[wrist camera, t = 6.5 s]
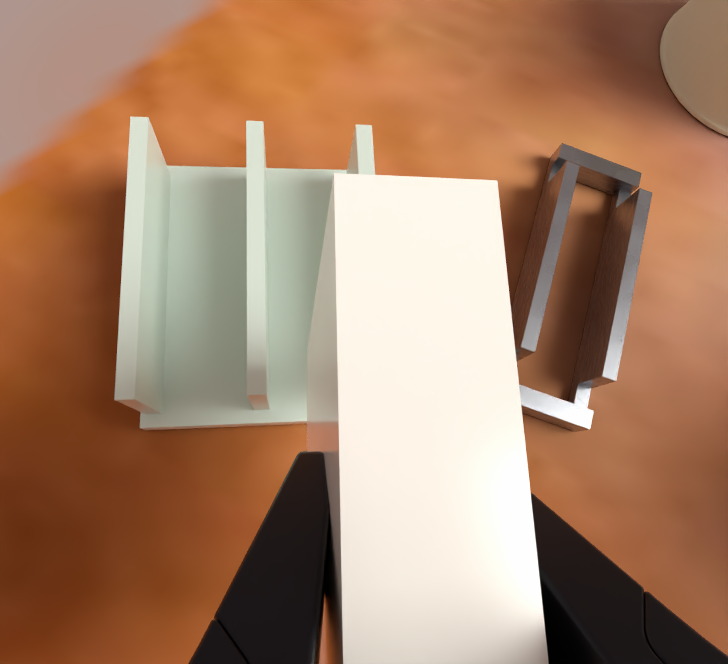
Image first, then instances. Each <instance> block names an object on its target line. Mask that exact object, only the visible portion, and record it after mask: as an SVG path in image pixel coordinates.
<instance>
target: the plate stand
mask: <svg viewBox="0 0 728 664" xmlns="http://www.w3.org/2000/svg"><path fill="white" fill-rule="evenodd" d="M640 178H641V173H640V172H637V171H635V170H632V169H629V168H627V167H624V166H621V165H619V164H616V163H613V162H611V161H608V160H605V159H603V158H600V157H597V156H595V155H592V154H589V153H587V152H584V151H582V150H579V149H576V148H574V147H571V146H568V145H566V144H563V143H562V144H561V145H560V146H559V148H558V149H557V150H556V151H555V152H554V154H553V155H552V156H551V158H550V161H549V165H548V169H547V173H546V177H545V181H544V185H543V188H542V192H541V196H540V200H539V204H538V208H537V211H536V215H535V219H534V223H533V227H532V231H531V235H530V238H529V242H528V246H527V250H526V254H525V258H524V261H523V265H522V269H521V273H520V277H519V281H518V285H517V288H516V292H515V296H514V300H513V304H512V308H511V314H512V324H513V333H514V343H515V352H516V361H518V360H520V359H522V358H524V357H526V356H528V355H530V354H532V353H534V352H535V350H536V346H537V342H538V337H539V333H540V329H541V325H542V321H543V317H544V312H545V308H546V304H547V300H548V296H549V292H550V288H551V283H552V279H553V275H554V271H555V267H556V263H557V258H558V254H559V250H560V246H561V242H562V238H563V233H564V229H565V225H566V221H567V217H568V213H569V208H570V204H571V200H572V196H573V192H574V188H575V184H576V182H579V183H582V184H584V185H587V186H590V187H592V188H595V189H598V190H601V191H603V192H606V193H609V194H611V195H613V196H612V201H611V205H610V210H609V215H608V219H607V224H606V229H605V233H604V238H603V242H602V247H601V252H600V256H599V261H598V266H597V270H596V275H595V280H594V284H593V289H592V293H591V298H590V303H589V307H588V312H587V317H586V321H585V326H584V330H583V335H582V340H581V344H580V349H579V354H578V358H577V363H576V368H575V372H574V377H573V381H572V386H571V391H570V395H569V400H568V402H567V401H564V400H562V399H559V398H556V397H553V396H550V395H547V394H545V393H542V392H539V391H536V390H533V389H530V388H528V387H525V386H522V385H519V390H520V399H521V408H522V413H524V414H527V415H530V416H532V417H535V418H538V419H541V420H544V421H547V422H549V423H552V424H555V425H558V426H561V427H564V428H566V429H569V430H572V431H575V432H576V431H583V430H589V429H590V427H591V422H592V417H593V412H594V411H593V410H590V409H587V406H588V401H589V397H590V392H591V388H594V387H598V386H601V385H604V384H608V383H611V382H615V381H616V379H617V374H618V369H619V364H620V359H621V353H622V348H623V343H624V338H625V333H626V327H627V322H628V317H629V312H630V307H631V301H632V296H633V291H634V286H635V280H636V275H637V270H638V265H639V260H640V254H641V249H642V244H643V239H644V234H645V228H646V223H647V218H648V213H649V208H650V202H651V197H652V193H651V192H649V191H646V190H643V189H641V188H640V189H638V190H637V191H636V192H635V193H634V194H632V195H631V193H632V192H633V191H634V190H636V189H637V188H638V187H639V183H640Z"/></svg>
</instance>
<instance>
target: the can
mask: <svg viewBox="0 0 728 664" xmlns="http://www.w3.org/2000/svg"><path fill="white" fill-rule="evenodd" d="M660 60H661V65H662V69H663V72H664V75H665V78H666V80H667V82H668V84H669V86H670V88H671V90H672V92H673V93H674V95H675V96H676V98H677V99H678V100H679V102H680V103H681V104H682V105H683V106H684V107H685V108H686V110H687V111H688V112H690V113H691V114H692V115H693V116H694V117H695V118H696V119H698V120H699V121H700V122H702V123H703V124H705V125H706V126H708V127H709V128H711V129H713V130H715V131H716V132H718V133H721V134H723V135H725V136H728V0H689V1H688V2H687V3H686V4H685V5H684V6H683V7H682V8H680V9H679V10H678V11H677V12H676V13H675V14H674V15H673V16H672V17H671V18H670V20H669V21H668V23H667V24H666V27H665V29H664V31H663V34H662V37H661V42H660Z"/></svg>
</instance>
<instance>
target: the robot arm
mask: <svg viewBox="0 0 728 664" xmlns="http://www.w3.org/2000/svg"><path fill="white" fill-rule="evenodd" d="M530 493H531V492H530ZM531 502H532V512H533V521H534V530H535V540H536V549H537V558H538V568H539V577H540V587H541V596H542V605H543V615H544V624H545V634H546V643H547V652H548V662H549V664H728V656H727V655H726V654H724V653H723V652H722V651H720V650H719V649H718V648H716V647H715V646H714V645H712V644H711V643H710V642H709V641H707V640H706V639H705V638H703V637H702V636H701V635H700V634H698V633H697V632H696V631H695V630H694V629H692V628H691V627H690V626H689V625H687V624H686V623H685V622H684V621H683V620H681V619H680V618H679V617H678V616H676V615H675V614H674V613H673V612H672V611H670V610H669V609H668V608H667V607H666V606H664V605H663V604H662V603H661V602H660V601H659V600H657V599H656V598H655V597H654V596H653V595H651V594H650V593H649V592H644V589H643V587H642V586H641V585H639V584H638V583H637V582H636V581H635V580H634V579H632V578H631V577H630V576H629V575H628V574H627V573H625V572H624V571H623V570H622V569H621V568H619V567H618V566H617V565H616V564H615V563H614V562H612V561H611V560H610V559H609V558H608V557H607V556H605V555H604V554H603V553H602V552H601V551H599V550H598V549H597V548H596V547H595V546H594V545H592V544H591V543H590V542H589V541H588V540H587V539H585V538H584V537H583V536H582V535H581V534H579V533H578V532H577V531H576V530H575V529H574V528H572V527H571V526H570V525H569V524H568V523H566V522H565V521H564V520H563V519H562V518H561V517H559V516H558V515H557V514H556V513H555V512H554V511H552V510H551V509H550V508H549V507H548V506H546V505H545V504H544V503H543V502H542V501H541V500H539V499H538V498H537V497H536V496H535V495H534V494H532V493H531ZM329 513H330V507H329V496H328V488H327V479H326V470H325V461H324V454H323V452H321V451H303V452H300V453H299V454H298V455H297V456H296V458H295V460H294V462H293V464H292V466H291V468H290V470H289V472H288V474H287V476H286V478H285V480H284V482H283V484H282V485H281V487H280V489H279V491H278V493H277V495H276V497H275V499H274V501H273V503H272V505H271V507H270V509H269V511H268V513H267V515H266V516H265V518H264V520H263V522H262V524H261V526H260V528H259V530H258V532H257V534H256V536H255V538H254V540H253V542H252V544H251V546H250V547H249V549H248V551H247V553H246V555H245V557H244V559H243V561H242V563H241V565H240V567H239V569H238V571H237V573H236V575H235V577H234V579H233V580H232V582H231V584H230V586H229V588H228V590H227V592H226V594H225V596H224V598H223V600H222V602H221V604H220V606H219V608H218V610H217V611H216V613H215V616H214V620H212V621H211V622H210V624H209V626H208V628H207V630H206V632H205V634H204V636H203V638H202V640H201V642H200V644H199V646H198V647H197V649H196V651H195V653H194V655H193V656H192V658H191V660H190V662H189V664H319V661H320V649H321V637H322V625H323V612H324V599H325V582H326V565H327V548H328V531H329Z"/></svg>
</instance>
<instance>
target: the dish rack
mask: <svg viewBox="0 0 728 664" xmlns="http://www.w3.org/2000/svg"><path fill="white" fill-rule="evenodd" d="M246 139H247V168H238V167H195V166H167V165H166V162H165V160H164V157H163V154H162V152H161V149H160V146H159V144H158V141H157V139H156V136H155V133H154V131H153V128H152V125H151V123H150V120H149V118H148V117H131V119H130V136H129V154H128V171H127V188H126V206H125V223H124V241H123V258H122V275H121V293H120V310H119V328H118V345H117V362H116V380H115V397H114V400H115V401H118V402H120V403H122V404H124V405H126V406H129V407H131V408H133V409H135V410H137V411H139V412H140V428H141V429H144V430H166V429H190V428H213V427H237V426H260V425H284V424H307V346H308V340H309V333H310V327H311V320H312V314H313V307H314V300H315V294H316V287H317V281H318V274H319V268H320V261H321V255H322V248H323V241H324V235H325V228H326V222H327V215H328V209H329V202H330V196H331V189H332V182H333V176H334V173H342V174H364V175H375V167H374V152H373V137H372V125H356V126H355V131H354V137H353V142H352V147H351V152H350V157H349V162H348V167H347V170H324V169H281V168H266V156H265V141H264V125H263V121H246Z"/></svg>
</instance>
